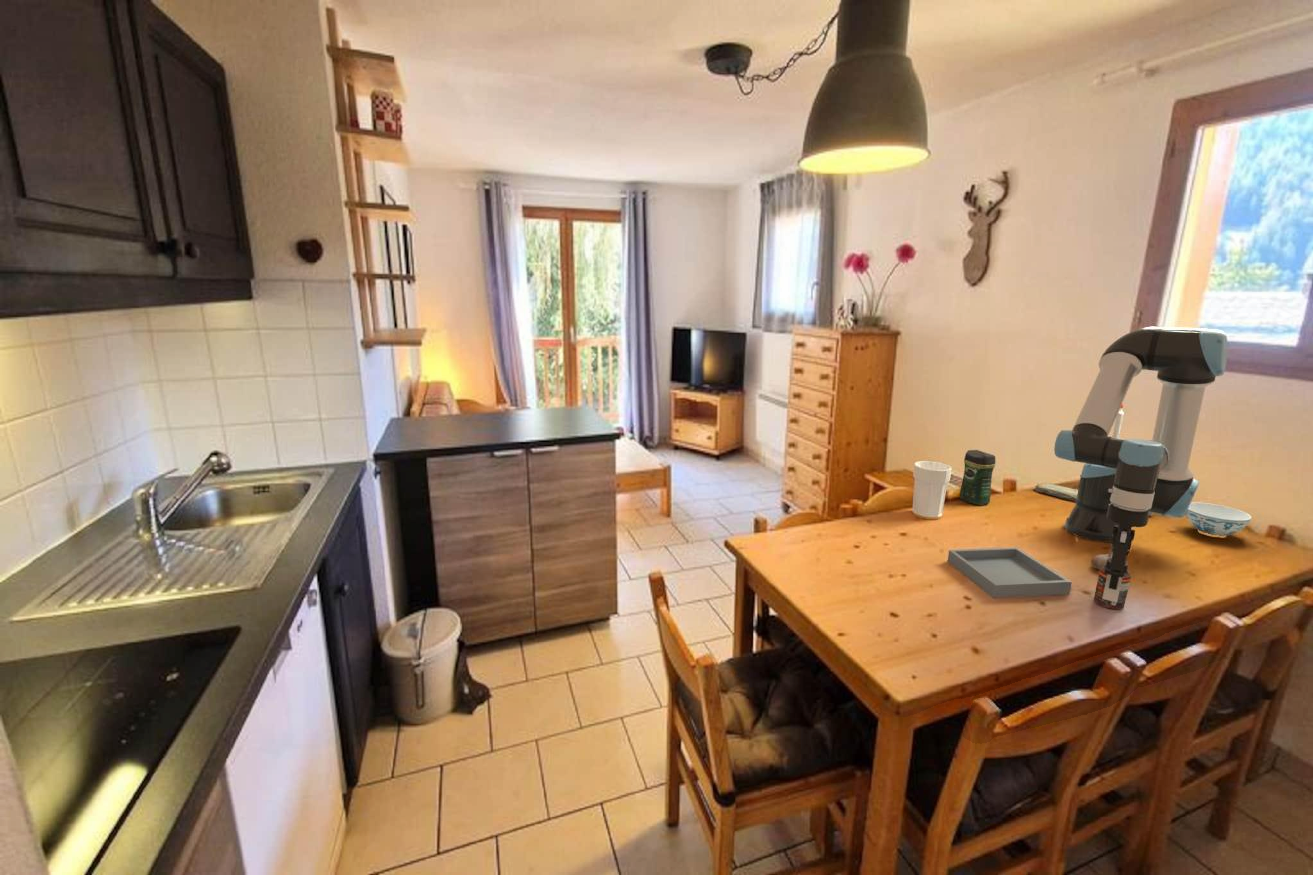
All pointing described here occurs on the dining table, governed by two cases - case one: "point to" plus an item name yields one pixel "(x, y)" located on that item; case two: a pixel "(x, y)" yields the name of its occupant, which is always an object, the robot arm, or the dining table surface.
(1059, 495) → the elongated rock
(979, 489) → the coffee jar
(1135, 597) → the dining table surface
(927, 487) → the cup
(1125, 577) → the supplement bottle
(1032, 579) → the tray
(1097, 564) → the garlic bulb
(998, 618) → the dining table surface
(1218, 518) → the chinaware
